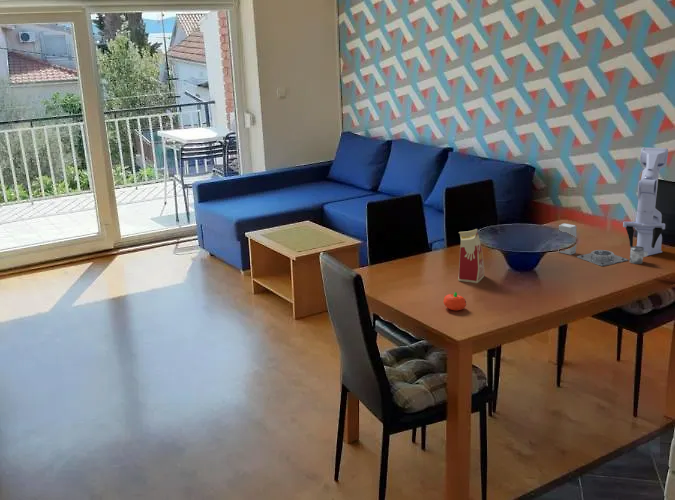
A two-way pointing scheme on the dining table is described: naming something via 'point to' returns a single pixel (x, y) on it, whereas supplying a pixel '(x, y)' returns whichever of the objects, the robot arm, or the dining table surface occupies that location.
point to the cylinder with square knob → (637, 254)
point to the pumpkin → (454, 302)
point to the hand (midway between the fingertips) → (641, 246)
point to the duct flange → (602, 257)
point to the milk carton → (470, 257)
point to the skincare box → (571, 230)
